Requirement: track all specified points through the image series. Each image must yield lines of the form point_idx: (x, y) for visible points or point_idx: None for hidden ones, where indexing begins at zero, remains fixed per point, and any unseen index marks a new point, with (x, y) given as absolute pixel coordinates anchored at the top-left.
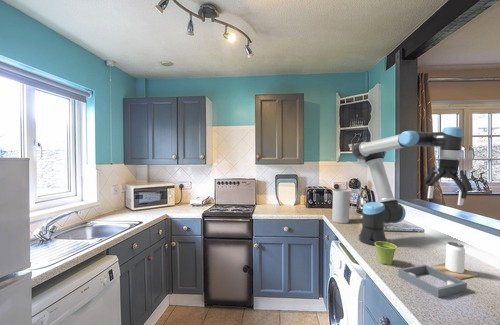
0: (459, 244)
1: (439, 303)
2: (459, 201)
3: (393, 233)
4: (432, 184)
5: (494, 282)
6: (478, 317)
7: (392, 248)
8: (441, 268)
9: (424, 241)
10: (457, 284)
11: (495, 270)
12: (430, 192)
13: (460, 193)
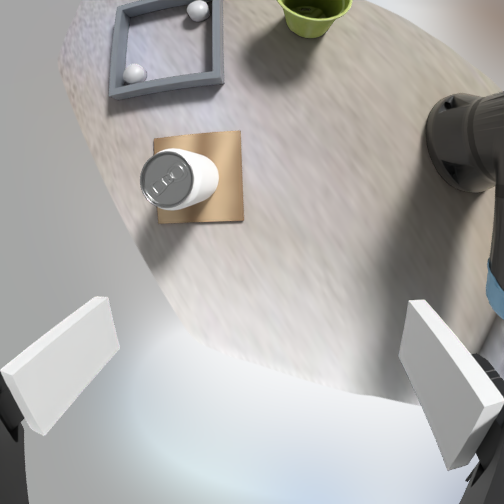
0: (168, 206)
1: (113, 5)
2: (75, 312)
3: (486, 302)
4: (476, 475)
5: (126, 223)
6: (68, 40)
7: (309, 21)
8: (215, 147)
9: None
10: (112, 65)
11: (176, 314)
12: (434, 353)
13: (17, 356)
